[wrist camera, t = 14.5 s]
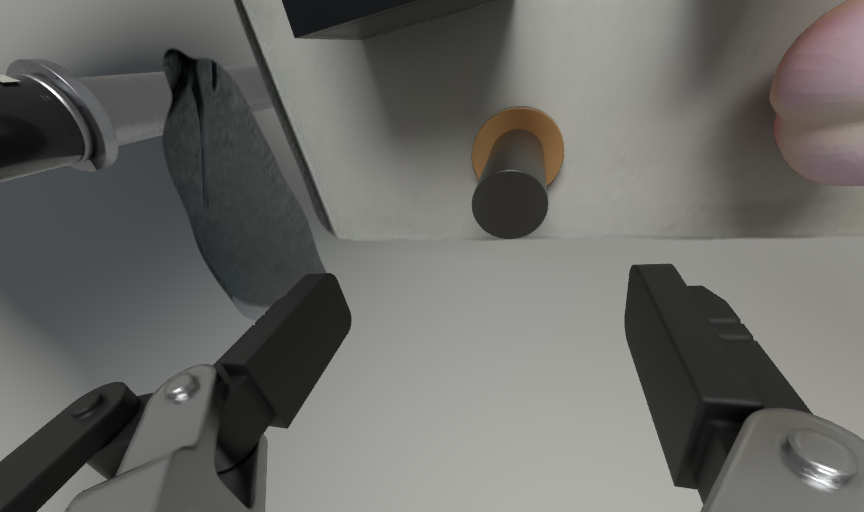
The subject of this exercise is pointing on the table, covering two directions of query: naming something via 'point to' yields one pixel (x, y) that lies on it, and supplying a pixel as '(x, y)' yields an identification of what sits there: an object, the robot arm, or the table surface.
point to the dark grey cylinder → (512, 187)
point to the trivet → (524, 120)
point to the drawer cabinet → (364, 16)
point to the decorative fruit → (824, 99)
